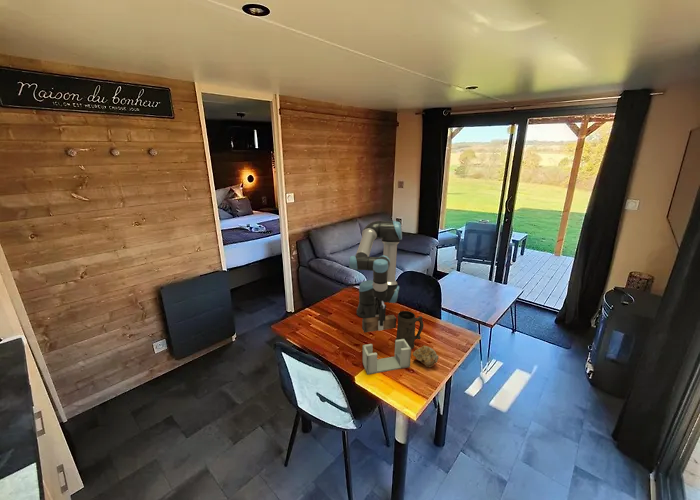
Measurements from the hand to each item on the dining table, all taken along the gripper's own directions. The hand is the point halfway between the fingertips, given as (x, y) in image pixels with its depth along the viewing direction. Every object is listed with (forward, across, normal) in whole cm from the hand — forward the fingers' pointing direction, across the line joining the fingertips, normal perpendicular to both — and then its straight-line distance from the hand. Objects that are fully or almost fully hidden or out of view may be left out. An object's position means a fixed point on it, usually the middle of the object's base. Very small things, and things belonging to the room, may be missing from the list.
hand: (379, 327), depth 163 cm
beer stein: (+15, -2, +19) cm, 24 cm away
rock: (+15, +16, +20) cm, 30 cm away
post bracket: (+15, +12, 0) cm, 19 cm away
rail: (0, 0, 0) cm, 0 cm away
